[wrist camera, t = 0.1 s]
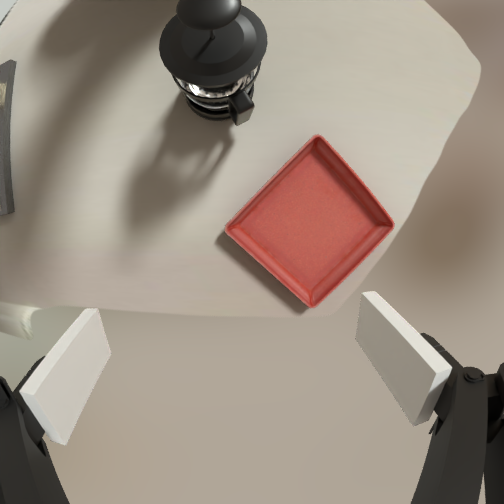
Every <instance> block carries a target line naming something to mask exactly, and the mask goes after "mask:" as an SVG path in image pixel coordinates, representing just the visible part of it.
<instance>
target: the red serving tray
mask: <svg viewBox="0 0 504 504" xmlns="http://www.w3.org/2000/svg"><path fill="white" fill-rule="evenodd" d="M394 226H395V223H394V221H393V220H392V218H391V217H390V216H389V214H388V213H387V212H386V210H385V209H384V208H383V206H382V205H381V204H380V202H379V201H378V200H377V199H376V197H375V196H374V195H373V193H372V192H371V191H370V189H369V188H368V187H367V186H366V185H365V184H364V182H363V181H362V180H361V179H360V178H359V176H358V175H357V174H356V173H355V172H354V170H353V169H352V168H351V167H350V166H349V165H348V164H347V163H346V161H345V160H344V159H343V158H342V157H341V156H340V155H339V153H338V152H337V151H336V150H335V149H334V148H333V147H332V146H331V145H330V144H329V143H328V141H327V140H326V139H325V138H324V137H323V136H321V135H319V134H316V135H314V136H313V137H312V138H311V139H310V140H309V141H308V142H306V143H305V144H304V146H303V147H302V148H300V149H299V150H298V151H297V152H296V153H295V154H294V155H293V156H292V157H291V158H290V159H289V160H288V161H287V162H286V163H285V164H284V165H283V166H282V167H281V168H280V169H279V170H278V171H277V173H276V174H275V175H273V176H272V177H271V179H270V180H269V181H268V182H267V183H266V184H265V185H264V186H263V187H262V188H261V189H260V190H259V191H258V192H257V193H256V194H255V195H254V196H253V197H252V198H251V199H250V200H249V201H248V202H247V203H246V204H245V205H244V206H243V207H242V208H241V209H240V210H239V211H238V212H237V213H236V214H235V215H234V216H233V218H232V219H231V220H230V221H229V222H228V223H227V224H226V225H225V229H224V230H225V233H226V234H227V235H228V236H229V237H231V238H232V239H233V240H234V241H235V242H236V243H237V244H238V245H239V246H241V247H242V248H243V249H244V250H245V251H246V252H247V253H249V254H250V255H251V256H252V257H253V258H254V259H255V260H256V261H257V262H259V263H260V264H261V265H262V266H263V267H264V268H265V269H266V270H267V271H269V272H270V273H271V274H272V275H273V276H274V277H275V278H276V279H277V280H279V281H280V282H281V283H282V284H283V285H284V286H285V287H287V288H288V289H289V290H290V291H291V292H292V293H293V294H294V295H295V296H297V297H298V298H299V299H300V300H301V301H302V302H303V303H304V304H306V305H307V306H308V307H309V308H315V307H317V306H318V305H319V304H320V303H321V302H322V301H323V300H324V299H325V298H326V297H327V296H328V295H330V294H331V293H332V292H333V291H334V290H335V289H336V288H337V287H338V286H339V285H340V284H341V283H342V282H343V281H344V280H345V279H346V278H347V277H348V276H349V275H350V274H351V273H352V272H353V271H354V270H355V269H356V268H357V267H358V266H359V265H360V264H361V263H362V262H363V261H364V260H365V259H366V258H367V257H368V256H369V255H370V254H371V253H372V252H373V250H374V249H375V248H376V247H377V246H378V245H379V244H380V243H381V242H382V241H383V240H384V239H385V238H386V237H387V236H388V235H389V233H390V232H391V231H392V230H393V229H394Z"/></svg>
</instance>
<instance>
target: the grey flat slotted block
mask: <svg viewBox="0 0 504 504" xmlns="http://www.w3.org/2000/svg"><path fill="white" fill-rule="evenodd" d="M15 68H16V61H13V60H9V61H7V62H5V63H3V64H2V65H0V215H4V214H9V213H12V212H15V211H14V203H13V194H12V183H11V167H10V117H11V102H12V91H13V82H14V75H15Z"/></svg>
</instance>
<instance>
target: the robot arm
mask: <svg viewBox="0 0 504 504" xmlns="http://www.w3.org/2000/svg"><path fill="white" fill-rule="evenodd" d="M355 339H356V341H357V342H358V343H359V345H360V346H361V348H362V349H363V351H364V352H365V354H366V355H367V357H368V358H369V360H370V361H371V362H372V364H373V366H374V367H375V369H376V370H377V372H378V373H379V375H380V376H381V378H382V379H383V381H384V382H385V384H386V385H387V387H388V388H389V390H390V391H391V393H392V394H393V396H394V397H395V399H396V401H397V402H398V403H399V405H400V407H401V408H402V410H403V412H404V413H405V414H406V416H407V418H408V419H409V421H410V422H411V424H412V425H413V426H416V425H418V424H421V423H424V422H426V421H428V420H429V418H430V417H431V415H432V413H433V411H435V412H436V414H437V415H438V417H437V419H436V421H435V423H434V424H433V426H432V428H431V430H430V432H429V434H431V433H432V431H433V433H432V438H431V442H430V445H429V449H428V453H427V456H426V460H425V463H424V467H423V470H422V473H421V476H420V479H419V482H418V485H417V488H416V491H415V493H414V496H413V499H412V501H411V504H478V500H479V494H480V489H481V484H482V477H483V472H484V482H485V498H486V504H504V363H502V364H501V365H500V367H499V369H498V371H497V373H495V374H488V375H485V374H484V373H483V372H482V371H481V370H479V369H478V368H474V367H464V368H463V367H462V366H461V365H460V364H459V363H458V362H457V361H456V360H455V359H454V358H453V357H452V356H451V355H450V354H449V353H448V352H447V351H445V349H444V348H443V347H442V346H441V345H440V344H439V343H438V342H437V341H436V340H435V339H434V338H433V337H431V336H429V335H427V334H425V333H421V334H419V333H418V332H417V331H416V330H415V329H414V328H413V327H412V326H411V325H410V324H409V323H408V322H407V321H406V320H405V319H404V318H403V317H402V316H400V315H399V313H397V312H396V311H395V310H394V309H393V308H392V307H391V306H390V305H389V304H388V303H387V302H386V301H385V300H384V299H383V298H382V297H381V296H380V295H378V294H377V293H376V292H375V291H372V292H363V293H361V301H360V310H359V318H358V325H357V331H356V338H355ZM110 355H111V350H110V347H109V344H108V341H107V338H106V335H105V331H104V328H103V325H102V321H101V318H100V314H99V310H98V309H85V310H84V311H83V312H82V313H81V315H80V316H79V317H78V318H77V319H76V320H75V321H74V323H73V324H72V325H71V326H70V327H69V329H68V330H67V331H66V332H65V333H64V335H63V336H62V337H61V338H60V339H59V341H58V342H57V343H56V344H55V345H54V347H53V348H52V349H51V350H50V352H49V353H48V354H47V355H46V356H44V357H42V358H41V359H39V360H38V361H37V362H36V363H35V364H34V365H33V366H32V368H31V370H29V371H28V373H27V375H26V376H25V377H24V378H23V379H22V381H21V382H20V383H19V385H18V386H17V387H16V389H15V390H14V391H13V393H12V391H11V389H10V387H9V386H8V384H7V382H6V380H5V379H4V378H3V377H1V376H0V504H70V503H69V501H68V499H67V497H66V495H65V492H64V490H63V488H62V486H61V483H60V481H59V478H58V476H57V474H56V471H55V468H54V466H53V463H52V460H51V458H50V455H49V452H48V449H47V446H46V443H45V442H44V440H43V439H42V437H43V435H44V433H46V434H47V436H48V437H49V438H50V440H51V441H52V442H56V443H59V444H63V445H67V442H68V440H69V438H70V436H71V433H72V431H73V429H74V427H75V425H76V422H77V421H78V418H79V416H80V414H81V412H82V410H83V408H84V406H85V404H86V402H87V400H88V398H89V396H90V394H91V391H92V390H93V388H94V386H95V384H96V382H97V380H98V378H99V376H100V374H101V372H102V370H103V369H104V367H105V365H106V363H107V361H108V359H109V357H110Z"/></svg>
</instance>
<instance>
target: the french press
mask: <svg viewBox="0 0 504 504" xmlns="http://www.w3.org/2000/svg"><path fill="white" fill-rule="evenodd" d="M176 13H177V14H176V15H175V16H174V17H173V18H172V19H171V20H170V21H169V22H168V24H167V25H166V27H165V28H164V30H163V32H162V35H161V38H160V44H159V51H160V56H161V59H162V61H163V63H164V65H165V67H166V68H167V69H168V70H169V72H170V73H171V74H172V76H173V78H174V81H175V82H176V84H177V85H178V87H179V88H180V90H181V91H182V93H183V94H184V96H185V98H186V101H187V103H188V105H189V107H190V108H191V109H192V111H194V112H195V113H196V114H197V115H199V116H201V117H202V118H205V119H208V120H214V121H222V120H227V119H231V118H232V120H233V121H234V123H235V125H236V126H238V125H240V124H242V123H244V122H246V121H248V120H249V119H250V116H251V114H252V111H253V109H254V103H253V101H252V100H251V99H252V97H253V92H254V81H255V80H256V77H257V75H258V73H259V70H260V65H261V61H262V58H263V56H264V54H265V52H266V47H267V33H266V30H265V27H264V25H263V23H262V21H261V20H260V19H259V17H258V16H257V15H256V14H255V13H254V12H252V11H251V10H249V9H248V8H246V7H244V6H242V5H241V0H180V1H179V2H178V5H177V9H176ZM257 66H258V68H257V72H256V74H255V76H254V71H253V70H254V69H255V68H256V67H257ZM176 78H178V79H180V80H181V82H182V86H181V85H180V84H179V82H178V80H177V79H176ZM202 106H204V107H208V108H223V107H228V106H229V109H228V110H224V111H211V110H208V109H206V108H204V107H202Z"/></svg>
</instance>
